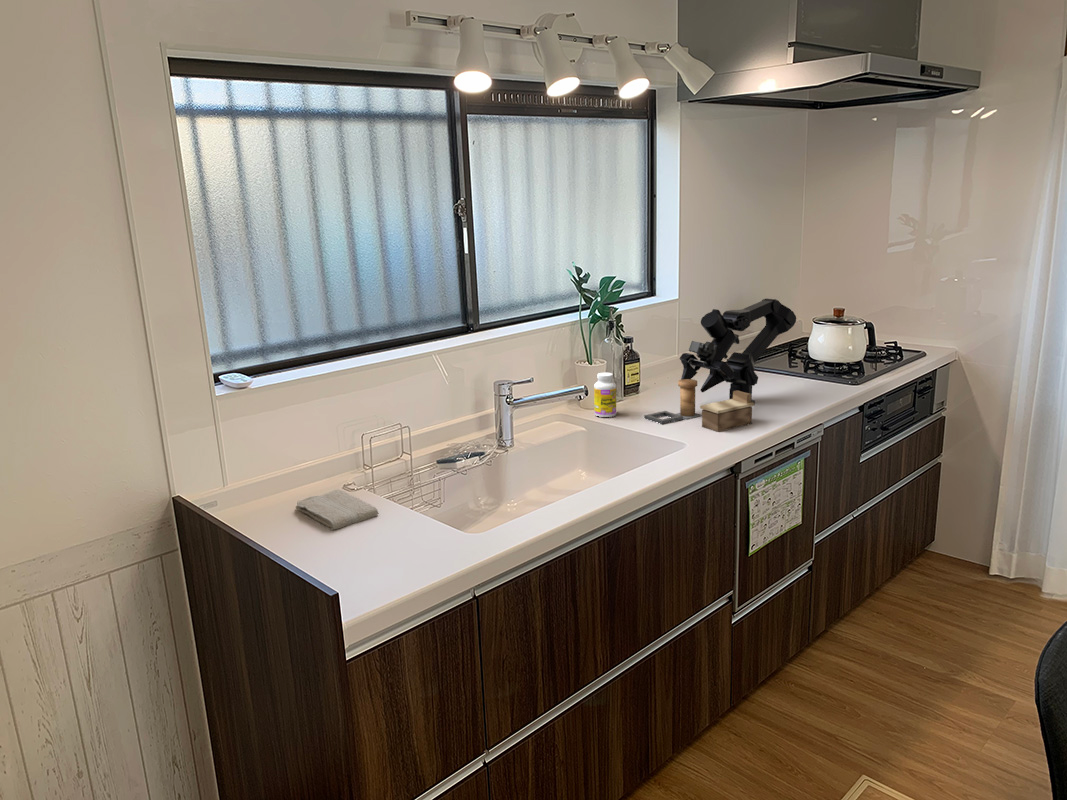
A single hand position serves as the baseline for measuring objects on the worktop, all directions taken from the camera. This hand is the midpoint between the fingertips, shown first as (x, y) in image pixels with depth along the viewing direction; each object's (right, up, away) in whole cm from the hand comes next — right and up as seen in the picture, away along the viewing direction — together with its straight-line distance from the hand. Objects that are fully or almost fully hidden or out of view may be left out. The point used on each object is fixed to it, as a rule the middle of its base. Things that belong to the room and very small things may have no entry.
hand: (691, 388), depth 247 cm
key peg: (-1, -8, +1) cm, 8 cm away
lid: (+8, -5, -11) cm, 15 cm away
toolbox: (+8, -11, -10) cm, 17 cm away
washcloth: (-91, -29, -63) cm, 114 cm away
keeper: (-8, -9, -1) cm, 12 cm away
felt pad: (-1, -8, +1) cm, 8 cm away
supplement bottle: (-25, -8, +5) cm, 27 cm away
